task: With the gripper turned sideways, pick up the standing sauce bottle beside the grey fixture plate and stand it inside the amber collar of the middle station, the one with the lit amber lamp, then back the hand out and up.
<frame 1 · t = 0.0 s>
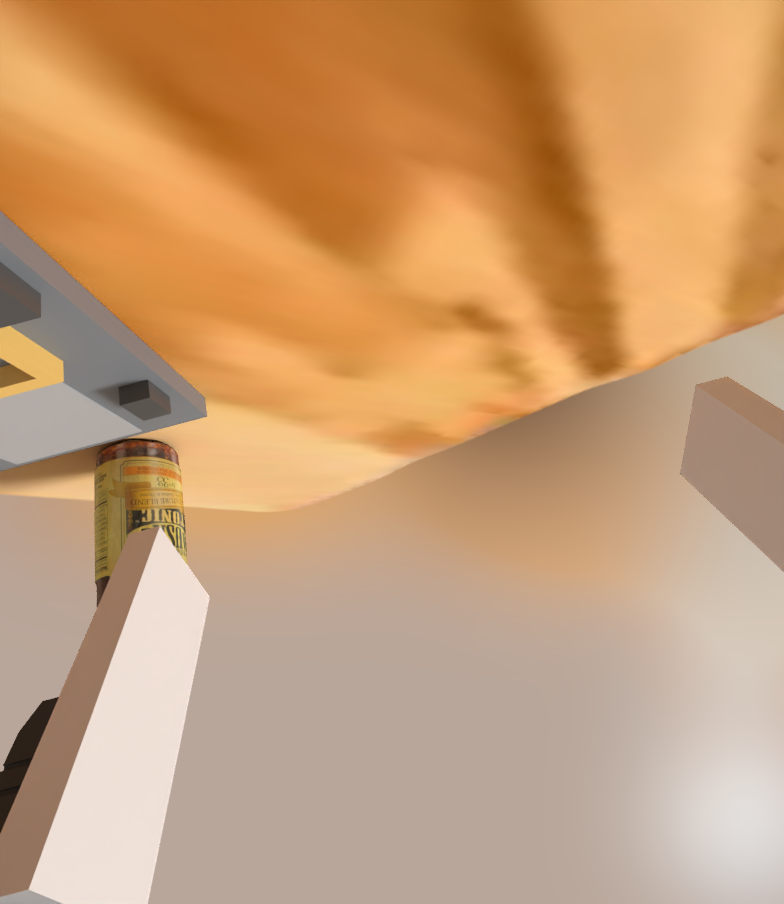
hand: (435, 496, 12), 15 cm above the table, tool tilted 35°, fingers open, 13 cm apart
sauce bottle: (135, 449, 40), on the table
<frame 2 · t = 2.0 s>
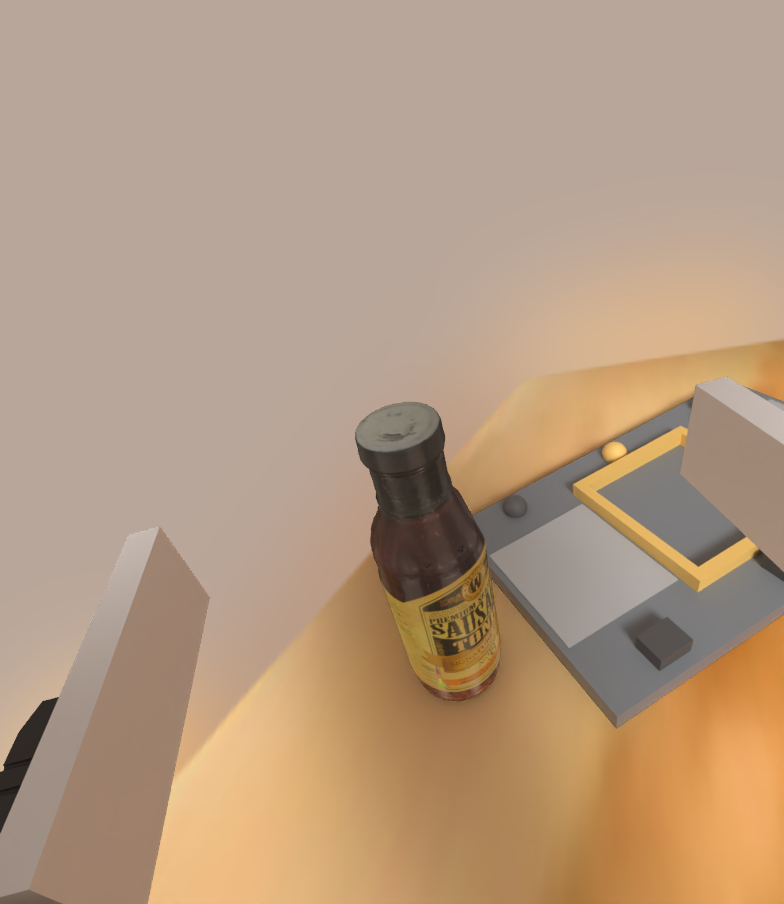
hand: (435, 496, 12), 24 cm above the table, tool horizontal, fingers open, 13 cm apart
sauce bottle: (459, 659, 34), on the table
grey fixture plate: (684, 516, 38), on the table
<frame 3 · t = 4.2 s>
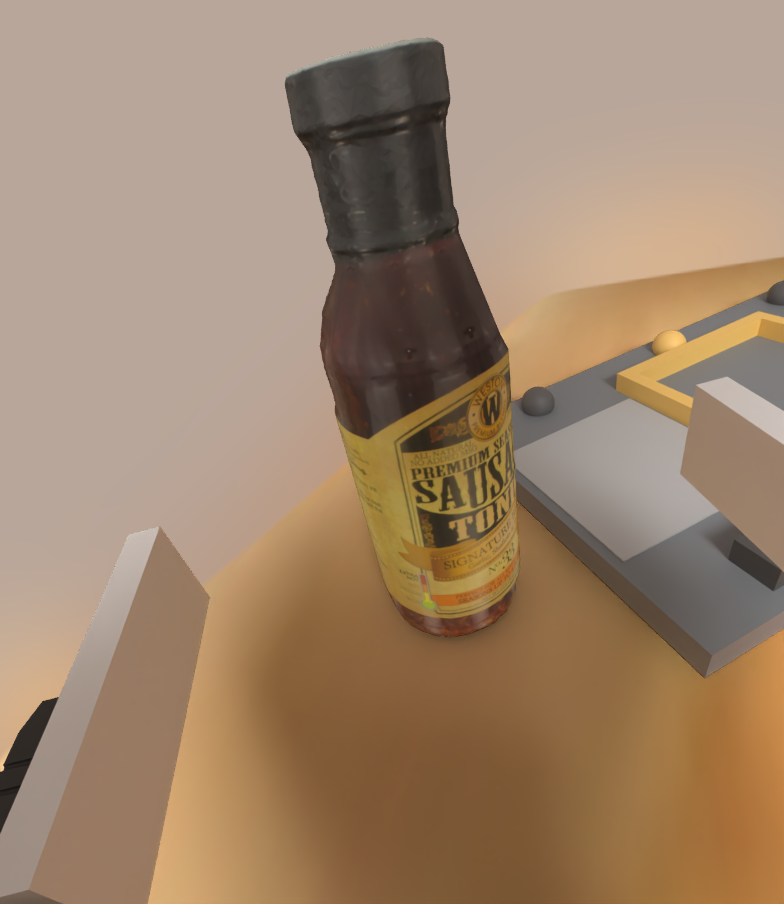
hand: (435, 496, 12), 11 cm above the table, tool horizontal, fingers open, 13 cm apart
sauce bottle: (457, 585, 23), on the table
grey fixture plate: (771, 414, 28), on the table
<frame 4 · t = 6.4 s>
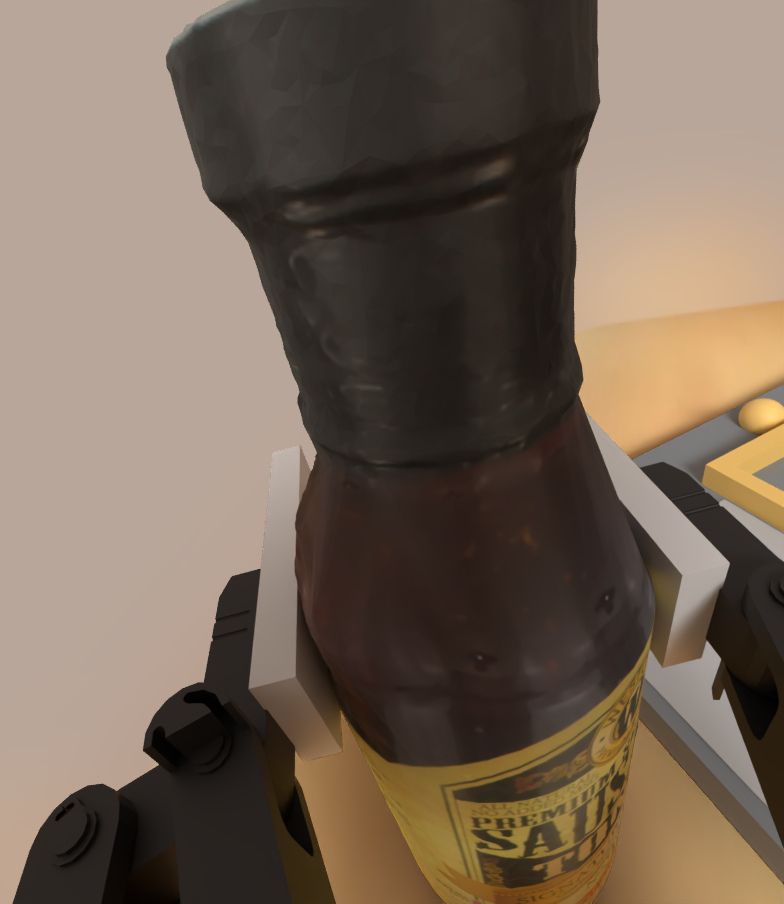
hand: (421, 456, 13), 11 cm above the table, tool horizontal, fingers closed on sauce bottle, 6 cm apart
sauce bottle: (511, 812, 16), on the table, touching gripper
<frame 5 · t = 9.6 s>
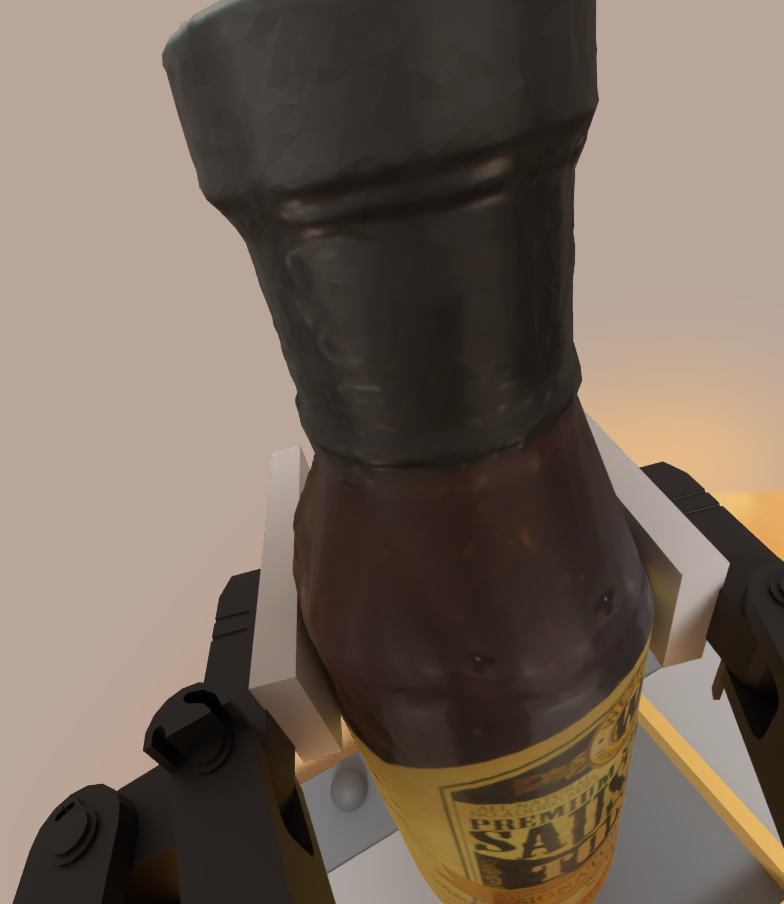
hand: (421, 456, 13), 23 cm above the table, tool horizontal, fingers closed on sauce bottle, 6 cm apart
sauce bottle: (510, 812, 16), point 12 cm above the table, touching gripper
grey fixture plate: (602, 842, 24), on the table
when the fingers open (14 cm above the table, at t = 12.6 s): sauce bottle drops 1 cm, resting on grey fixture plate.
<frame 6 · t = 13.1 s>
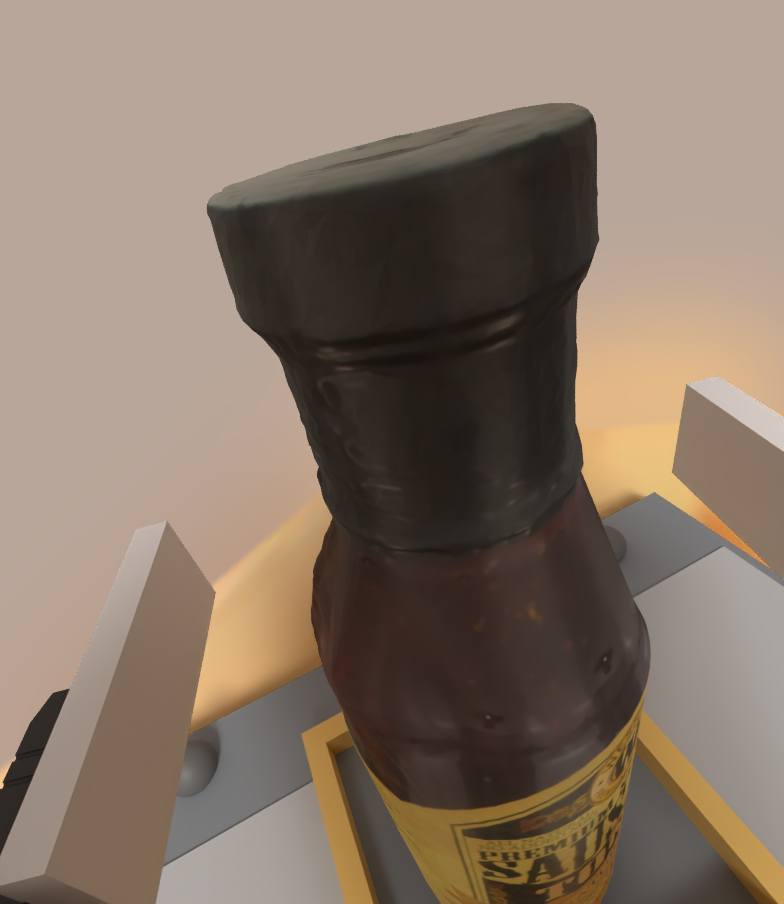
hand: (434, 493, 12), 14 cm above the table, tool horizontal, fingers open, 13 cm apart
sauce bottle: (514, 824, 16), point 1 cm above the table, touching grey fixture plate
grey fixture plate: (516, 836, 17), on the table
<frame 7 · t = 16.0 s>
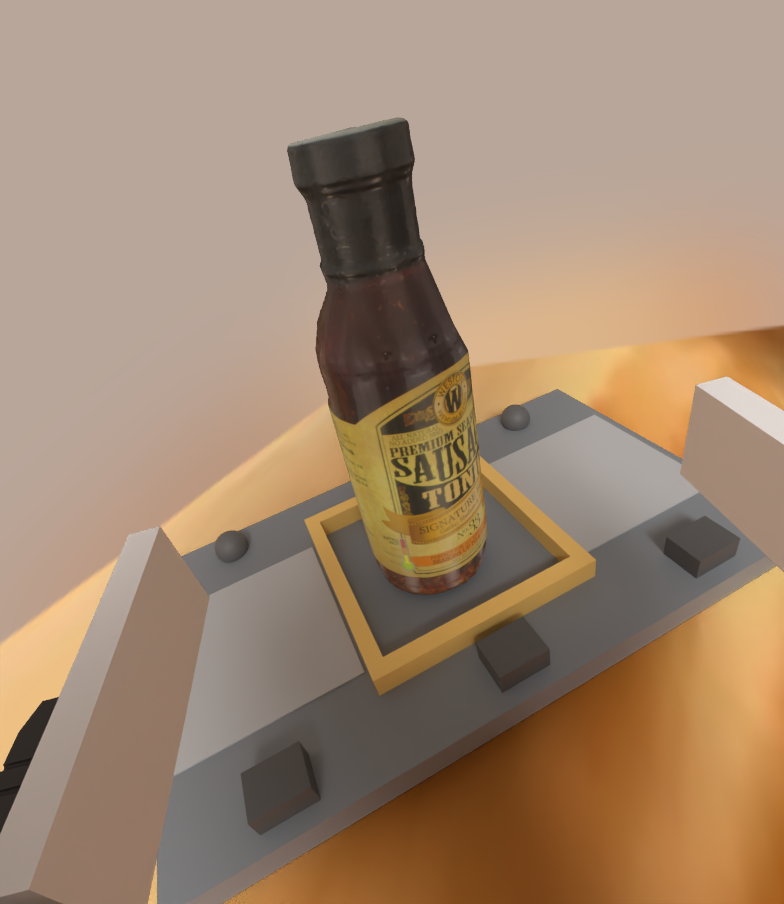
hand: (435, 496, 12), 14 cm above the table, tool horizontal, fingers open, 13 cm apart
sauce bottle: (435, 554, 27), point 1 cm above the table, touching grey fixture plate
grey fixture plate: (438, 569, 28), on the table
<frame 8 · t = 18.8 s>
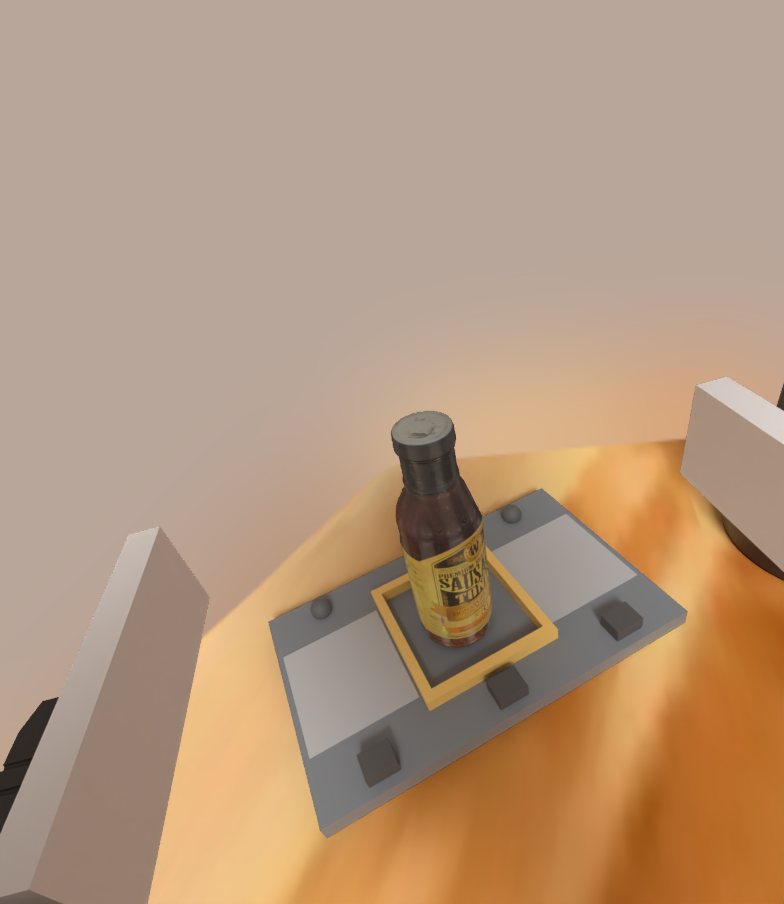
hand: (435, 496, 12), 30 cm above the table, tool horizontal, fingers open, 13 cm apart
sauce bottle: (458, 618, 42), point 1 cm above the table, touching grey fixture plate
grey fixture plate: (460, 627, 43), on the table
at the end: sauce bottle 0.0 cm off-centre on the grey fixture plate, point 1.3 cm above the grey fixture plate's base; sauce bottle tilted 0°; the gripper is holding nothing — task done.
